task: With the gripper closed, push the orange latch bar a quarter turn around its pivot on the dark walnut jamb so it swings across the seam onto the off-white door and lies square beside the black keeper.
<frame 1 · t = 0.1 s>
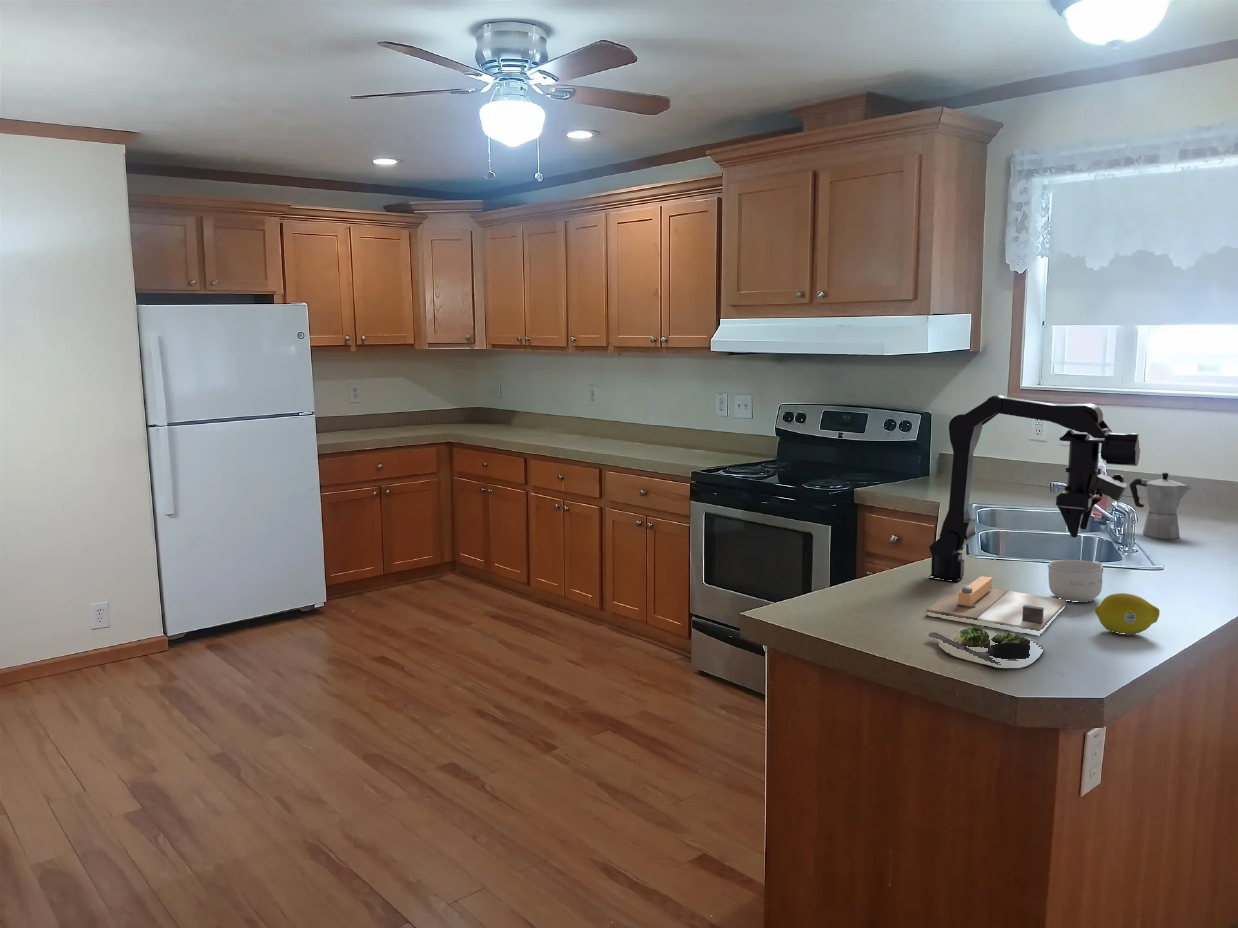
hand: (1078, 533, 196), 15 cm above the worktop, tool pointing down, fingers open, 9 cm apart
coffeepot: (1156, 535, 255), on the worktop
latch bar: (975, 588, 194), point 4 cm above the worktop, hinge at 90.0°
lemon: (1125, 634, 175), on the worktop
door and jamb: (997, 611, 190), on the worktop
salad plate: (991, 655, 166), on the worktop
teacup: (1079, 599, 198), on the worktop
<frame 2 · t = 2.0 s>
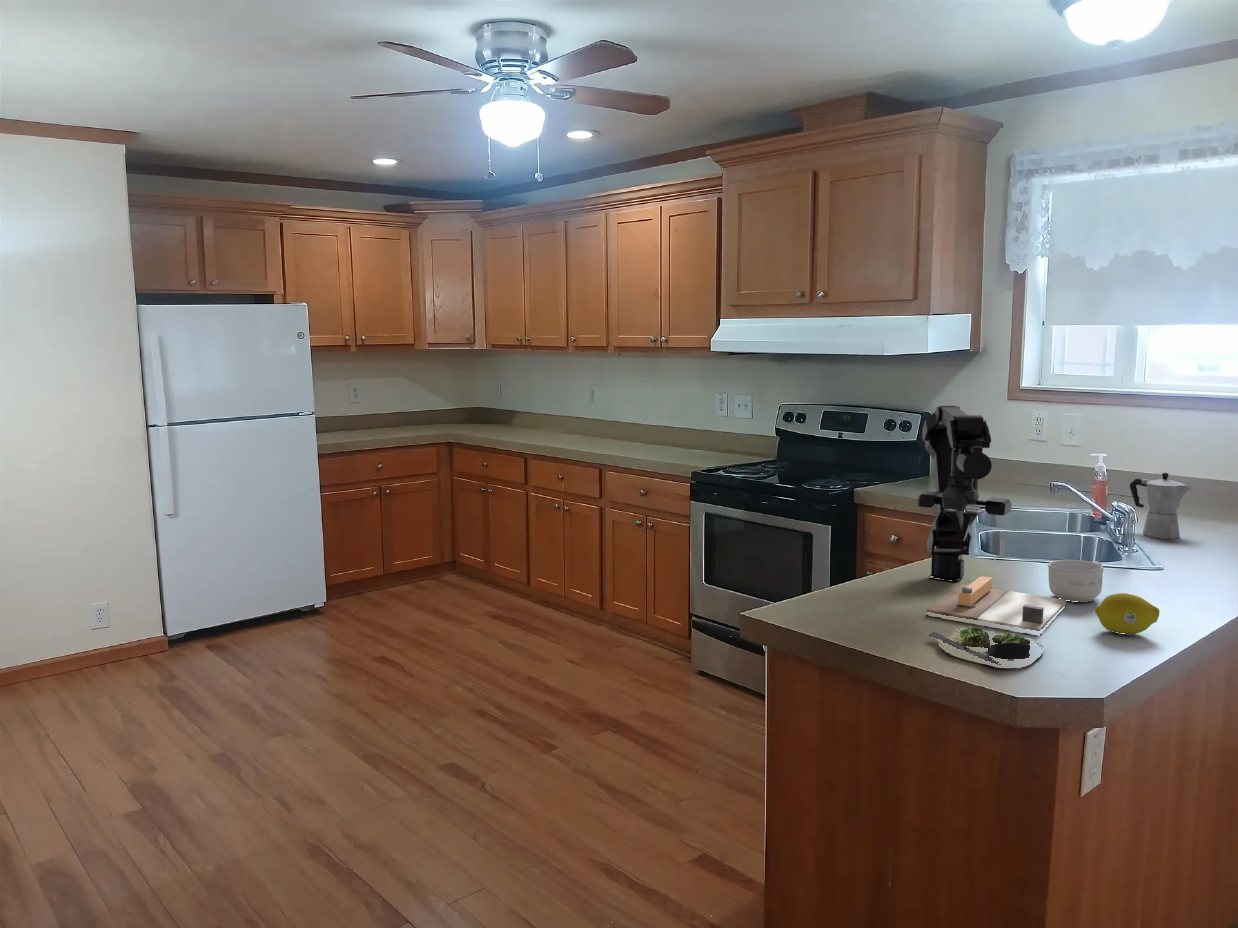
hand: (962, 540, 200), 12 cm above the worktop, tool pointing down, fingers closed
nothing on the worktop moved.
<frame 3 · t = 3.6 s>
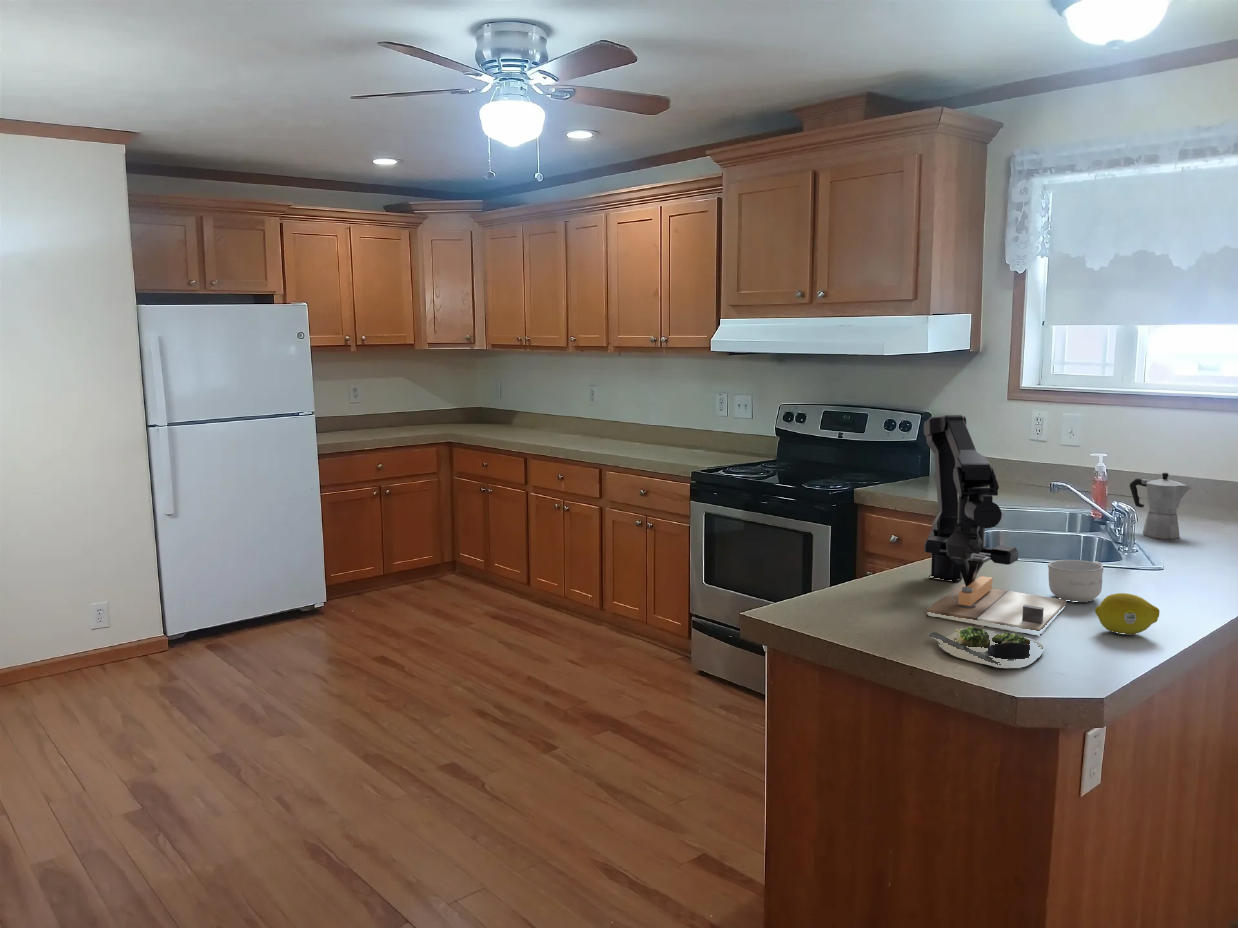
hand: (968, 587, 198), 3 cm above the worktop, tool pointing down, fingers closed
latch bar: (975, 588, 194), point 4 cm above the worktop, hinge at 90.0°, touching gripper
everything else where it was.
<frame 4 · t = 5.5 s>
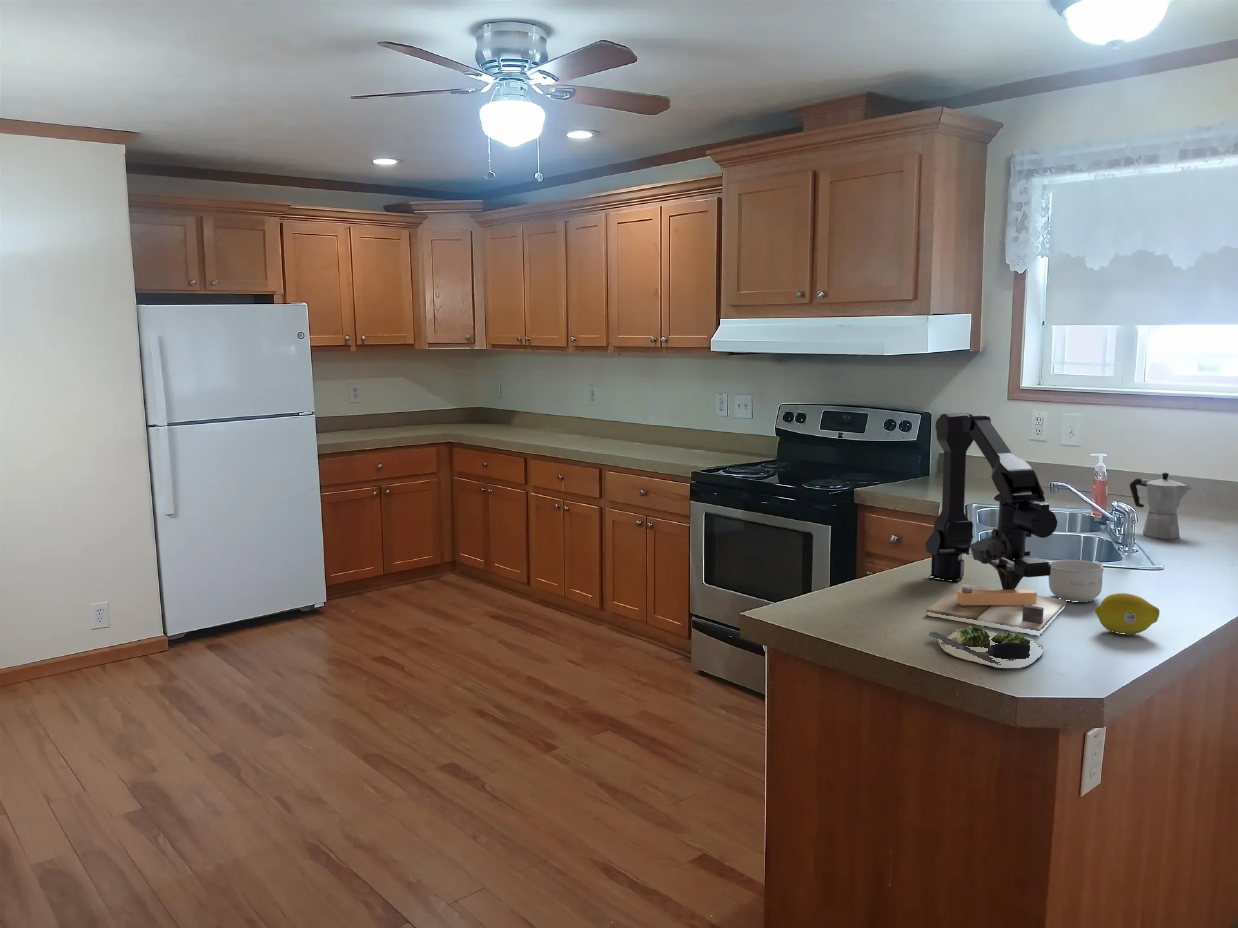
hand: (1007, 596, 191), 3 cm above the worktop, tool pointing down, fingers closed
latch bar: (996, 595, 189), point 4 cm above the worktop, hinge at 36.9°, touching gripper
everything else where it was.
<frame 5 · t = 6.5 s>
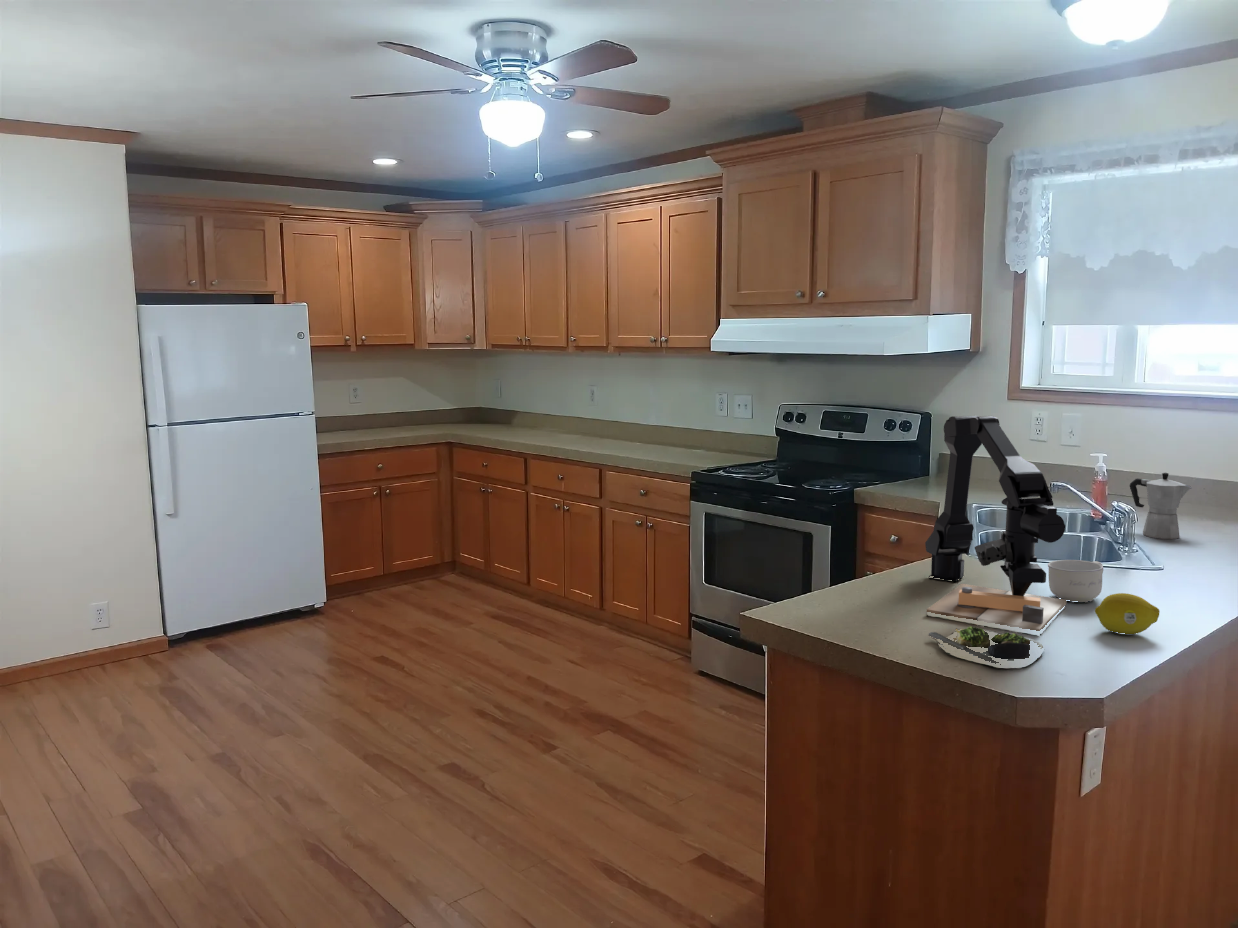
hand: (1016, 602, 187), 3 cm above the worktop, tool pointing down, fingers closed
latch bar: (999, 599, 186), point 4 cm above the worktop, hinge at 11.7°, touching gripper
everything else where it was.
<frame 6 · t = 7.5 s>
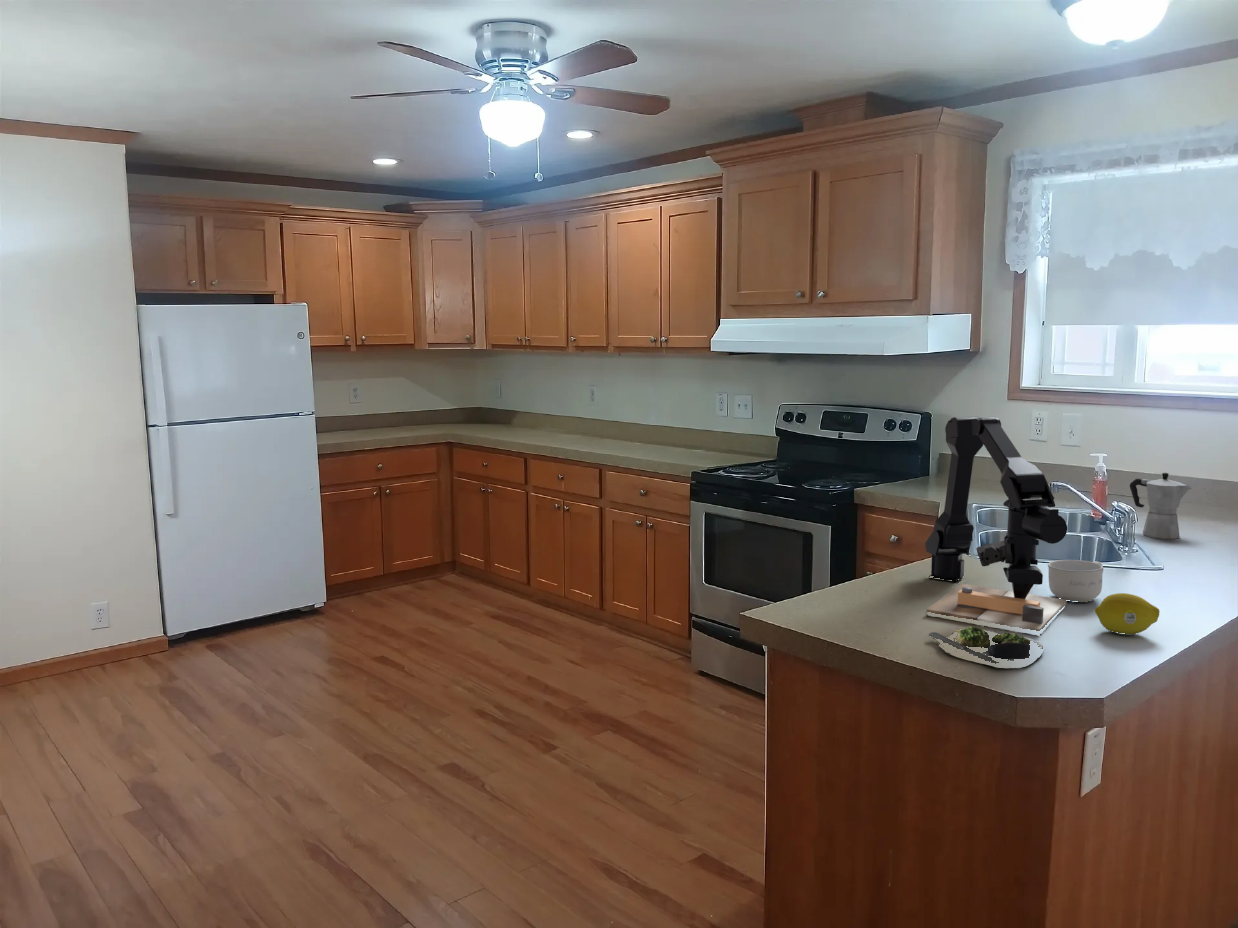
hand: (1018, 605, 186), 2 cm above the worktop, tool pointing down, fingers closed
latch bar: (998, 600, 185), point 4 cm above the worktop, hinge at 1.1°
everything else where it was.
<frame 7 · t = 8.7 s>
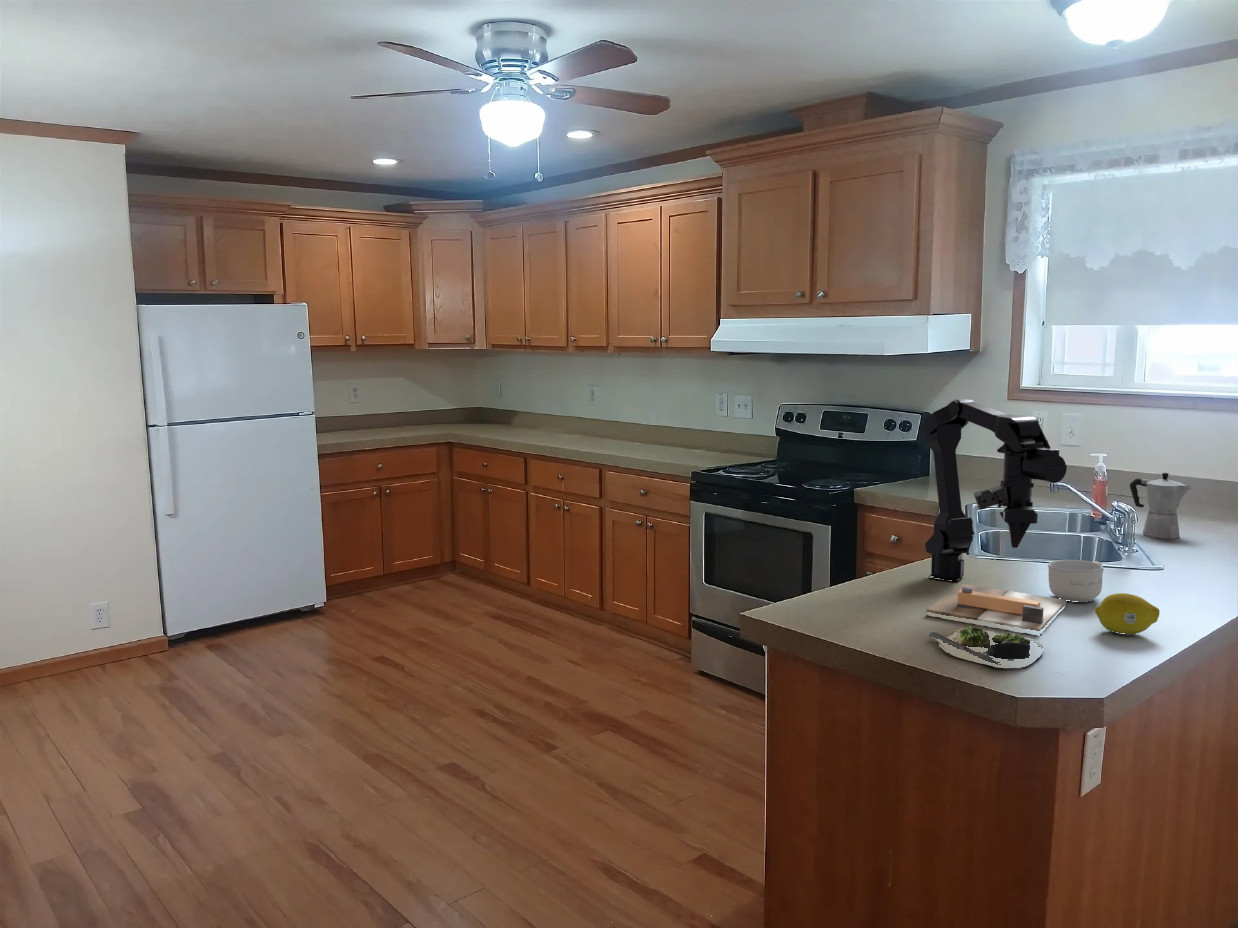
hand: (1014, 547, 193), 12 cm above the worktop, tool pointing down, fingers closed
nothing on the worktop moved.
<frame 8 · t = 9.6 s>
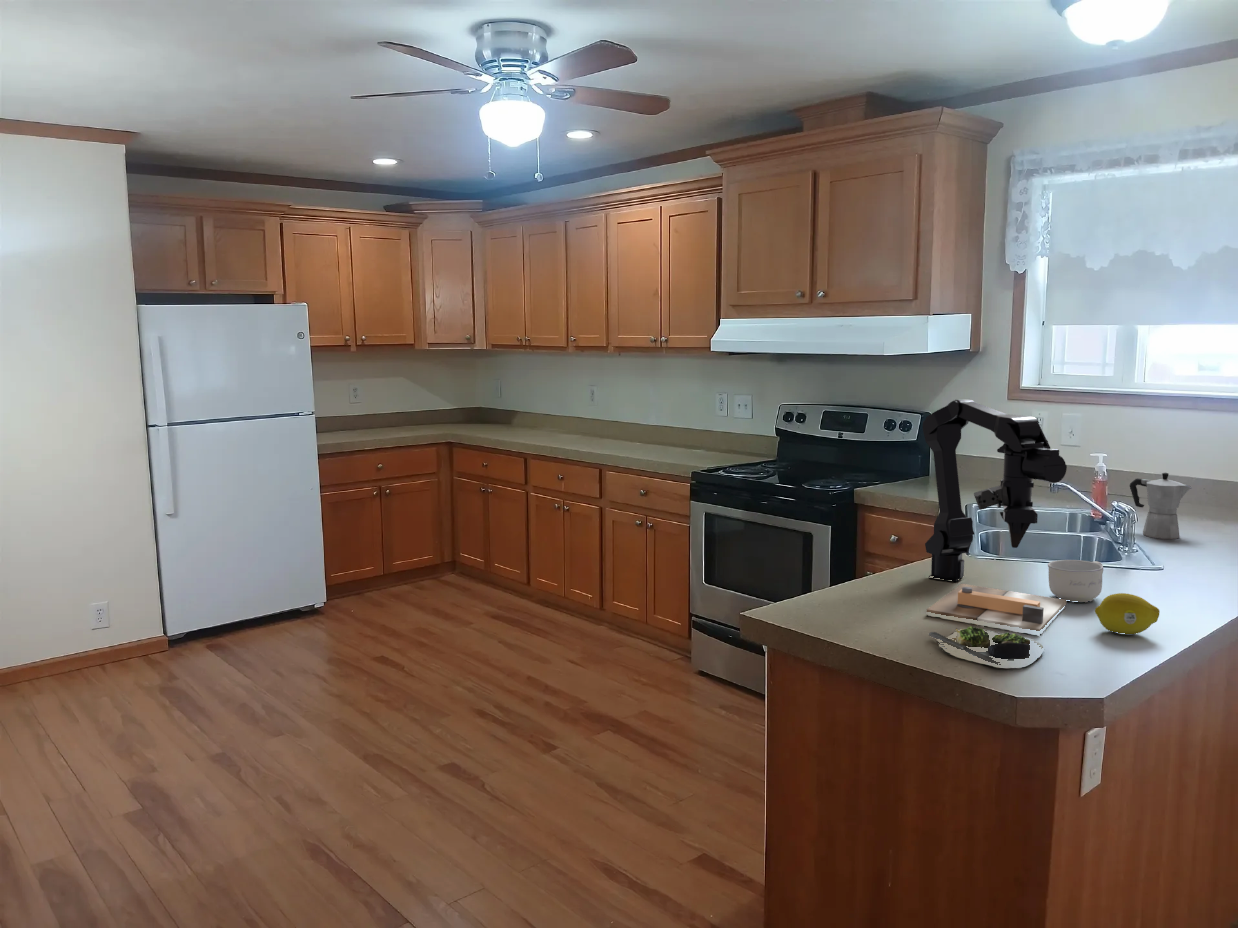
hand: (1014, 547, 193), 12 cm above the worktop, tool pointing down, fingers closed
nothing on the worktop moved.
at the end: latch bar at +1° (first picture: +90°) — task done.
